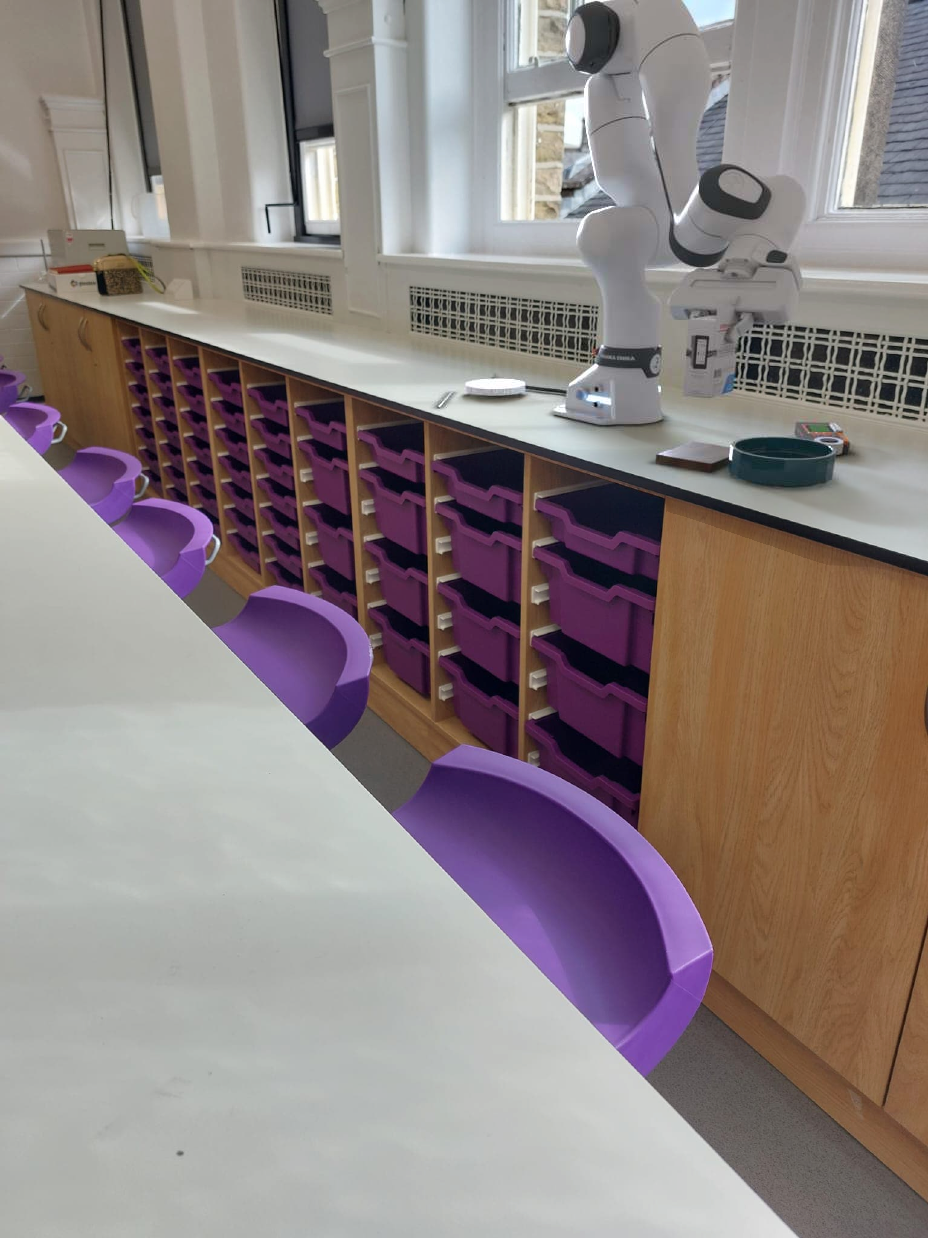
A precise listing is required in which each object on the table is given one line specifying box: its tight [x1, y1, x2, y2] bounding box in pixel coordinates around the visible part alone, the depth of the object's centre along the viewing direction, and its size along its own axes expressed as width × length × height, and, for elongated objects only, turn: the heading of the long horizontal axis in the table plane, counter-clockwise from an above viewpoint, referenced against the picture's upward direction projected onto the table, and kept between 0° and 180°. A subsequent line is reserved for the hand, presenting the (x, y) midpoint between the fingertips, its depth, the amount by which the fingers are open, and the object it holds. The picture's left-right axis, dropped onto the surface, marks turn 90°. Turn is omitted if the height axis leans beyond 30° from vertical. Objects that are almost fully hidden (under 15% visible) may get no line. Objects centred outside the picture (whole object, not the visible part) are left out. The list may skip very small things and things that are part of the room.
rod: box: [436, 391, 453, 409], centre depth 199 cm, size 1×19×1 cm, turn 173°
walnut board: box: [655, 441, 731, 474], centre depth 145 cm, size 10×12×2 cm
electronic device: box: [793, 421, 851, 456], centre depth 152 cm, size 7×3×15 cm
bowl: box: [727, 436, 837, 489], centre depth 135 cm, size 15×15×4 cm
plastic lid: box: [464, 378, 526, 397], centre depth 204 cm, size 14×14×2 cm
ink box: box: [682, 296, 740, 399], centre depth 138 cm, size 8×5×15 cm, turn 140°
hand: (711, 339), depth 137 cm, fingers closed on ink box, 5 cm apart
